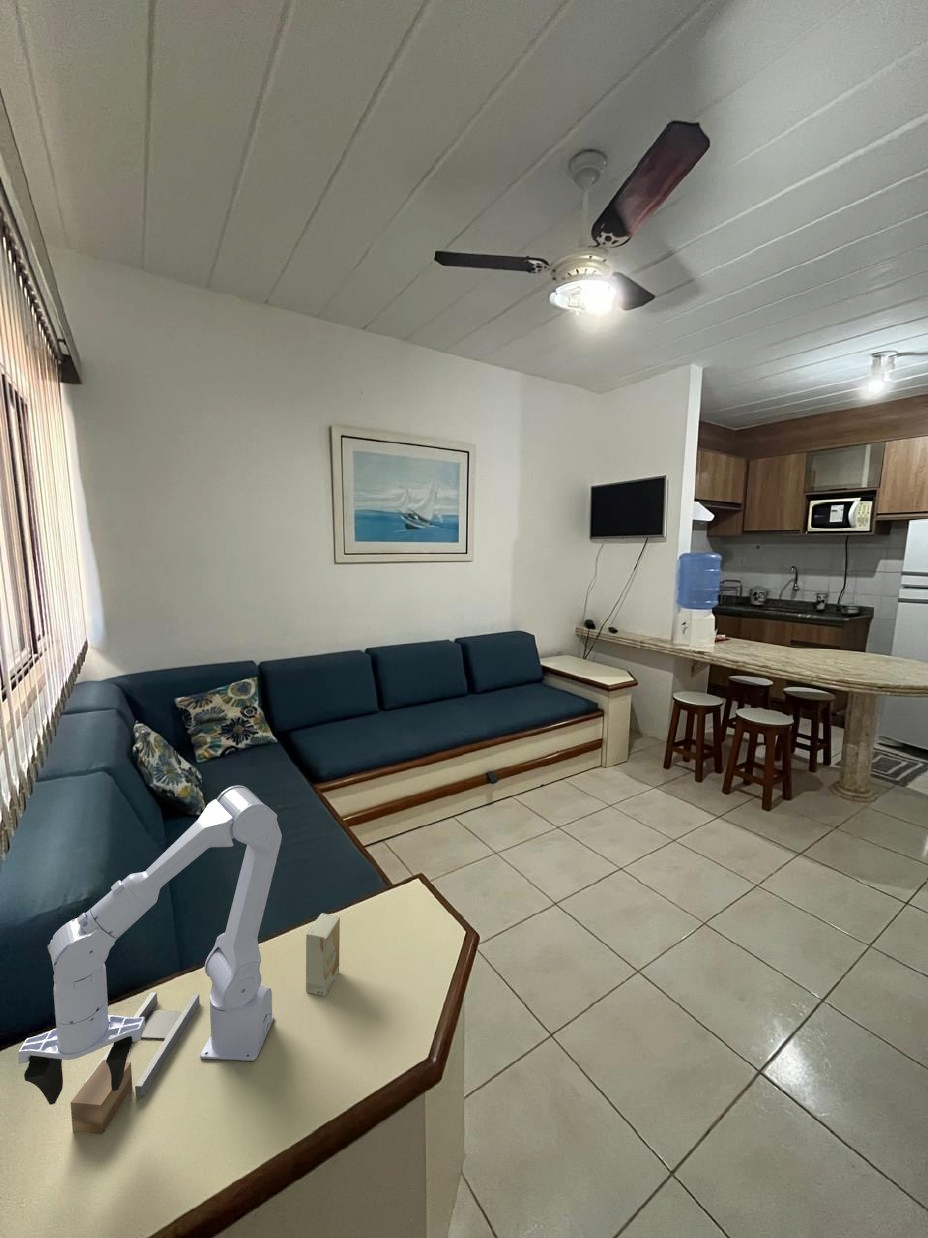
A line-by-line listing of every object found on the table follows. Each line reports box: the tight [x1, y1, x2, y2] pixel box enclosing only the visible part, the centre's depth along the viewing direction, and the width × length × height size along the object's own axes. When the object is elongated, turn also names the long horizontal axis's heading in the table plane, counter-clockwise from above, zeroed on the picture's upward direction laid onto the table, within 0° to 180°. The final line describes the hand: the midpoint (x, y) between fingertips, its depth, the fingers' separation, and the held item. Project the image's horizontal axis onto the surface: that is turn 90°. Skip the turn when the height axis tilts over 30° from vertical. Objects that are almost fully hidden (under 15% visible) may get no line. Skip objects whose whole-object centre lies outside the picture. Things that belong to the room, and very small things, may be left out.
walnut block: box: [70, 1060, 133, 1135], centre depth 73 cm, size 4×6×5 cm
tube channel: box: [83, 991, 201, 1098], centre depth 83 cm, size 9×16×2 cm, turn 179°
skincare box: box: [305, 912, 341, 997], centre depth 96 cm, size 6×4×12 cm
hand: (87, 1090), depth 70 cm, fingers open, 7 cm apart
